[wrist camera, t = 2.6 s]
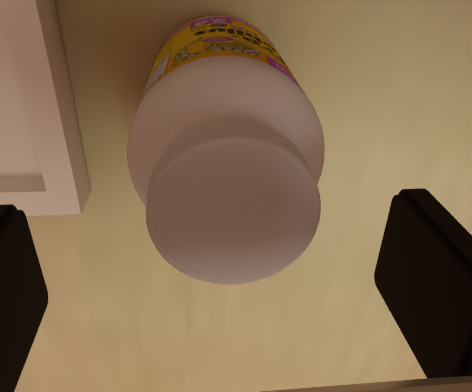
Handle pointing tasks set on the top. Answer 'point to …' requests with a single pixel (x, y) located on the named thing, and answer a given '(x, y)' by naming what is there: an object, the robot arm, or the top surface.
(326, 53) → the top surface
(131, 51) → the top surface
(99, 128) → the top surface
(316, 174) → the supplement bottle
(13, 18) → the ceramic tray
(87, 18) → the top surface
